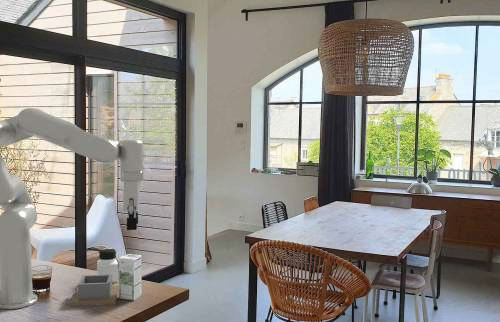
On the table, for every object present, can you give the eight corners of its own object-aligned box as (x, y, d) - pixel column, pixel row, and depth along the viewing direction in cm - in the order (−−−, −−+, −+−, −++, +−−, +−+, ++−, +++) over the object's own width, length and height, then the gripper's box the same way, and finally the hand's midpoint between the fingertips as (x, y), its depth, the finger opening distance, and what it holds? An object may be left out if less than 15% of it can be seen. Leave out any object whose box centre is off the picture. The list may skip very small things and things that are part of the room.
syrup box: (142, 295, 171) (142, 254, 170) (133, 301, 166) (133, 258, 165) (127, 293, 173) (127, 253, 172) (118, 299, 167) (118, 257, 166)
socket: (70, 306, 160) (70, 286, 160) (77, 292, 174) (77, 273, 173) (115, 304, 163) (115, 285, 162) (118, 290, 176) (118, 272, 176)
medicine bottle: (118, 282, 185) (118, 250, 184) (98, 284, 183) (98, 252, 182) (116, 276, 192) (116, 246, 191) (97, 278, 189) (96, 247, 188)
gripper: (122, 174, 174) (123, 222, 176) (118, 179, 157) (119, 232, 159) (144, 173, 176) (144, 221, 177) (142, 179, 159) (143, 231, 160)
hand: (132, 226), depth 168 cm, fingers open, 9 cm apart
